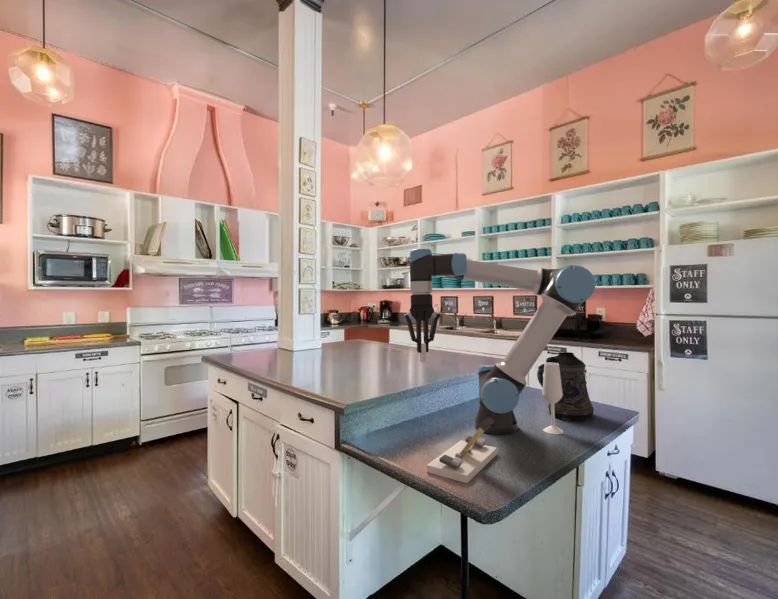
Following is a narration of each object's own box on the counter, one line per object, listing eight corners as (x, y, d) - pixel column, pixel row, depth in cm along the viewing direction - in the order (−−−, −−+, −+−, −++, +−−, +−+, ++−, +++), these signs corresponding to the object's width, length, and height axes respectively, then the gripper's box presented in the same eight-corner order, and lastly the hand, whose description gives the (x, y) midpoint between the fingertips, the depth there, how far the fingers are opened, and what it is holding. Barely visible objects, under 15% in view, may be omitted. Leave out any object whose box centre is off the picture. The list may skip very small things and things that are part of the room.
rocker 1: (444, 457, 109) (445, 451, 109) (461, 465, 106) (462, 459, 106) (439, 461, 107) (440, 455, 106) (456, 469, 104) (457, 463, 103)
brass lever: (463, 449, 116) (489, 415, 111) (468, 454, 115) (494, 420, 110) (456, 454, 112) (483, 419, 107) (461, 459, 111) (489, 425, 106)
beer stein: (603, 419, 148) (602, 354, 148) (560, 425, 143) (558, 357, 143) (573, 407, 164) (572, 349, 164) (533, 412, 159) (532, 351, 159)
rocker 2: (469, 438, 123) (470, 433, 123) (484, 445, 120) (485, 439, 120) (465, 441, 120) (466, 436, 120) (480, 448, 117) (481, 442, 117)
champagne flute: (551, 435, 133) (549, 365, 133) (539, 428, 140) (537, 362, 140) (567, 432, 135) (566, 364, 135) (554, 426, 142) (553, 361, 141)
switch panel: (461, 446, 126) (460, 435, 126) (497, 454, 119) (496, 442, 119) (427, 472, 108) (426, 459, 108) (467, 483, 101) (466, 469, 101)
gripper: (436, 293, 138) (438, 359, 139) (400, 294, 136) (402, 361, 136) (442, 293, 131) (444, 362, 131) (405, 294, 129) (406, 364, 129)
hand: (423, 361), depth 134 cm, fingers closed
